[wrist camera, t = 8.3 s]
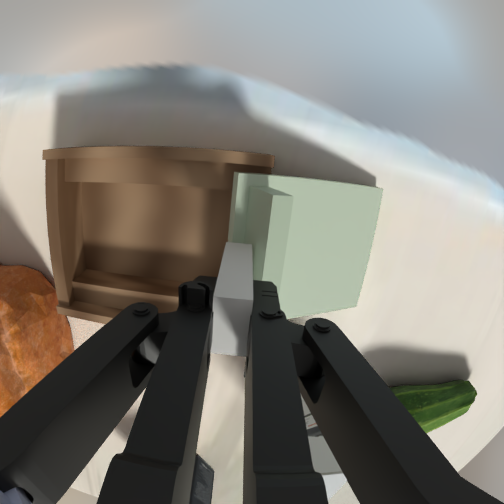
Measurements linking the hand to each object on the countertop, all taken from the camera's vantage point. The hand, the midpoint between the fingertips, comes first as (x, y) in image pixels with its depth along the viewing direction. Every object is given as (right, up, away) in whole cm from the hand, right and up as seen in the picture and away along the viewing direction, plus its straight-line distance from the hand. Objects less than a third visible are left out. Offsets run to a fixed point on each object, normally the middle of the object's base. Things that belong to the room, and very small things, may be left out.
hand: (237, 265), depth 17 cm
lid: (+5, +1, +4) cm, 6 cm away
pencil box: (-6, +3, +6) cm, 9 cm away
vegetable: (+22, -17, +13) cm, 31 cm away
